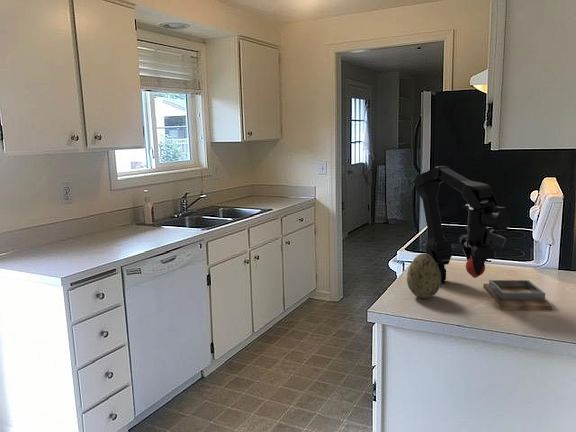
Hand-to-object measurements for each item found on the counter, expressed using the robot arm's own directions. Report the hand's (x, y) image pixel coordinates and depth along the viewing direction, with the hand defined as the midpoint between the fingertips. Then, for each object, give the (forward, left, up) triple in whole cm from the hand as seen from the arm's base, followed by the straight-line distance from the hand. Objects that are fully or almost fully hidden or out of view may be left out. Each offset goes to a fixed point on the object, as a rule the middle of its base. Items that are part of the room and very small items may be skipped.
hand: (475, 271), depth 151 cm
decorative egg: (-16, 0, -9) cm, 18 cm away
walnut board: (+13, 0, -9) cm, 16 cm away
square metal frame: (+13, 0, -7) cm, 15 cm away
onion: (0, 0, -2) cm, 2 cm away
